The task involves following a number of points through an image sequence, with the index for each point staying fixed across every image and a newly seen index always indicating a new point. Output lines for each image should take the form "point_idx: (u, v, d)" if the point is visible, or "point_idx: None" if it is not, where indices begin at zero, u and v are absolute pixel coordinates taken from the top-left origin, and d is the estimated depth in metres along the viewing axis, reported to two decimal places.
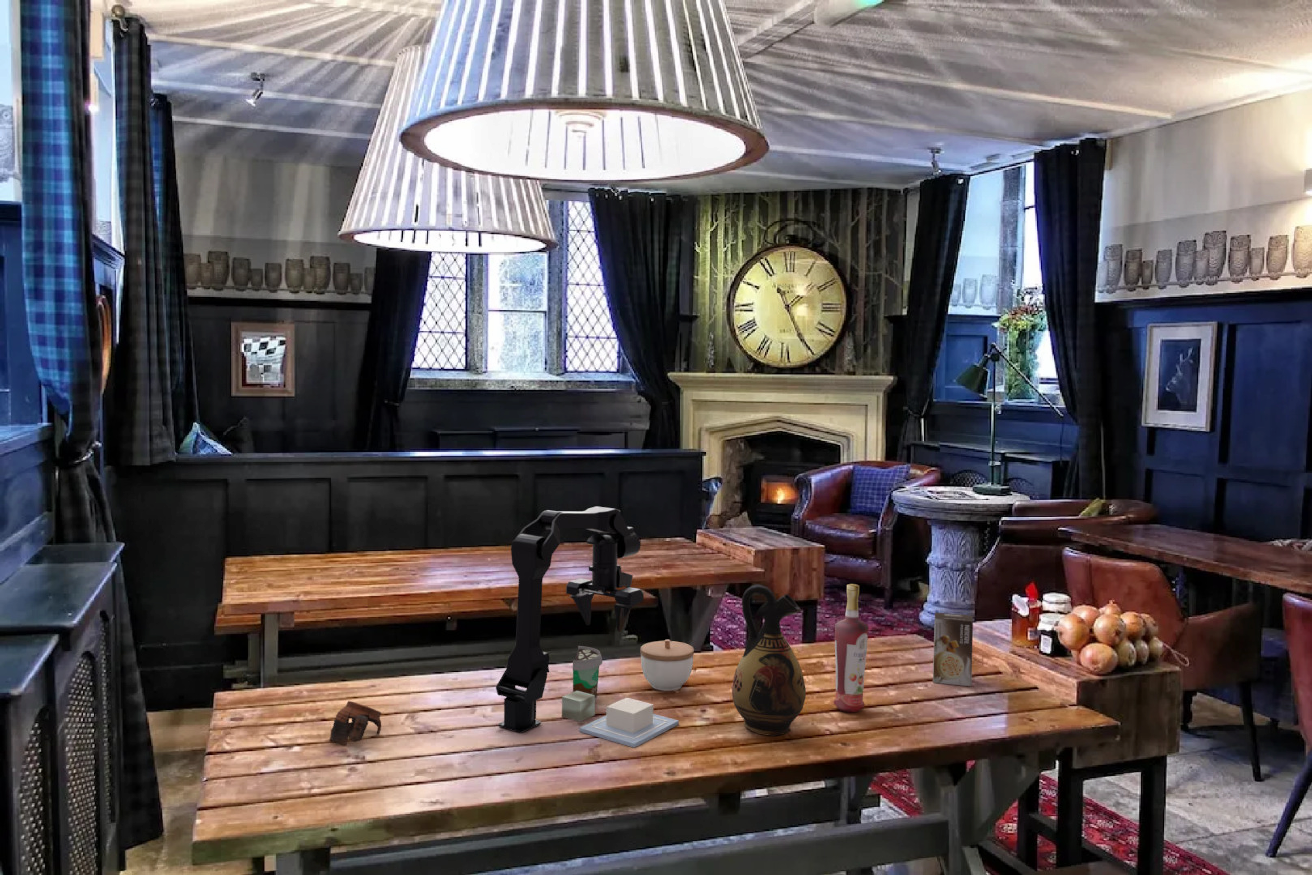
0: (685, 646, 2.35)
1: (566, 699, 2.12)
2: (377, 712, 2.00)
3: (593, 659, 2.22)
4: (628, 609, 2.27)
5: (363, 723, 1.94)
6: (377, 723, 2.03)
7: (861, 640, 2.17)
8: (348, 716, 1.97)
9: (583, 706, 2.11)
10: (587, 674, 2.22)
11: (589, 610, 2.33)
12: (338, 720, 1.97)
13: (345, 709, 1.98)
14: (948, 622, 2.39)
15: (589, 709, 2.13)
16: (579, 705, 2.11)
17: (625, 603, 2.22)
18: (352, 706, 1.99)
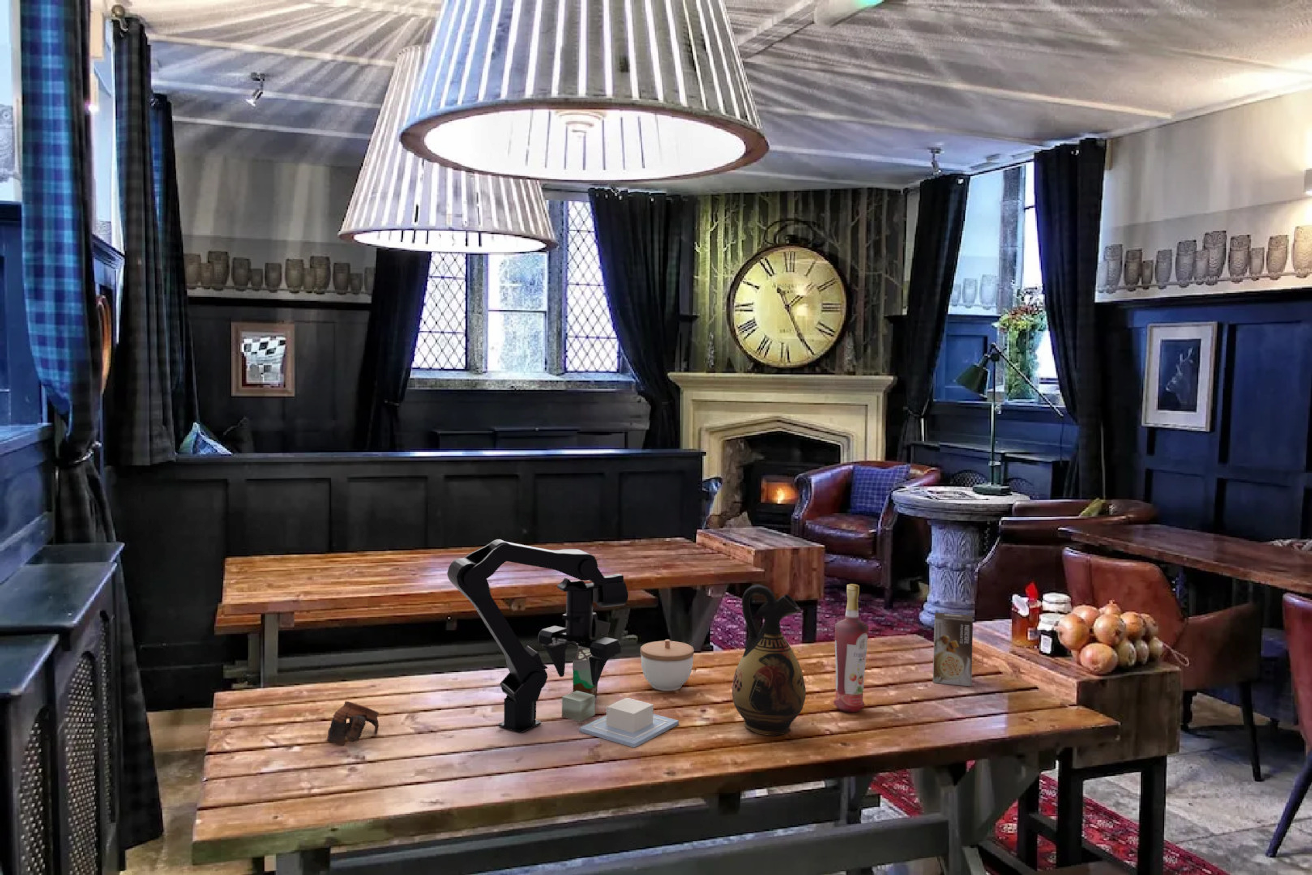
0: (685, 646, 2.35)
1: (566, 699, 2.12)
2: (374, 712, 2.00)
3: None
4: (604, 661, 2.10)
5: (361, 723, 1.94)
6: (374, 723, 2.03)
7: (861, 640, 2.17)
8: (345, 716, 1.97)
9: (583, 706, 2.11)
10: (587, 674, 2.22)
11: (563, 661, 2.16)
12: (335, 720, 1.97)
13: (342, 709, 1.98)
14: (948, 622, 2.39)
15: (589, 709, 2.13)
16: (579, 705, 2.11)
17: (600, 656, 2.06)
18: (349, 706, 1.99)
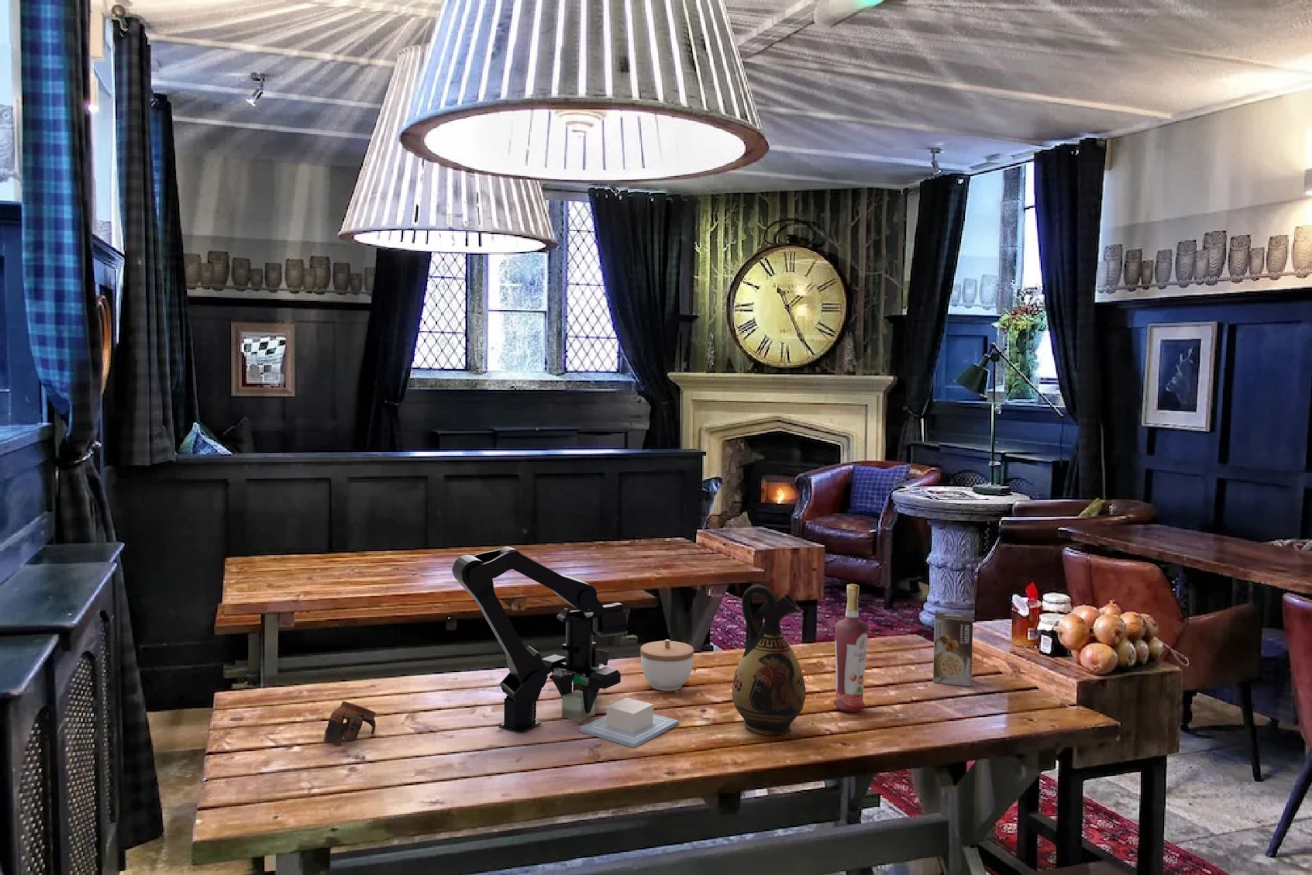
0: (685, 646, 2.35)
1: (566, 698, 2.12)
2: (372, 712, 2.00)
3: None
4: (597, 689, 2.12)
5: (358, 723, 1.94)
6: (371, 723, 2.03)
7: (861, 640, 2.17)
8: (342, 716, 1.97)
9: (583, 705, 2.11)
10: None
11: (570, 691, 2.16)
12: (333, 720, 1.97)
13: (340, 709, 1.98)
14: (948, 622, 2.39)
15: None
16: (579, 704, 2.11)
17: (600, 686, 2.06)
18: (346, 706, 1.99)
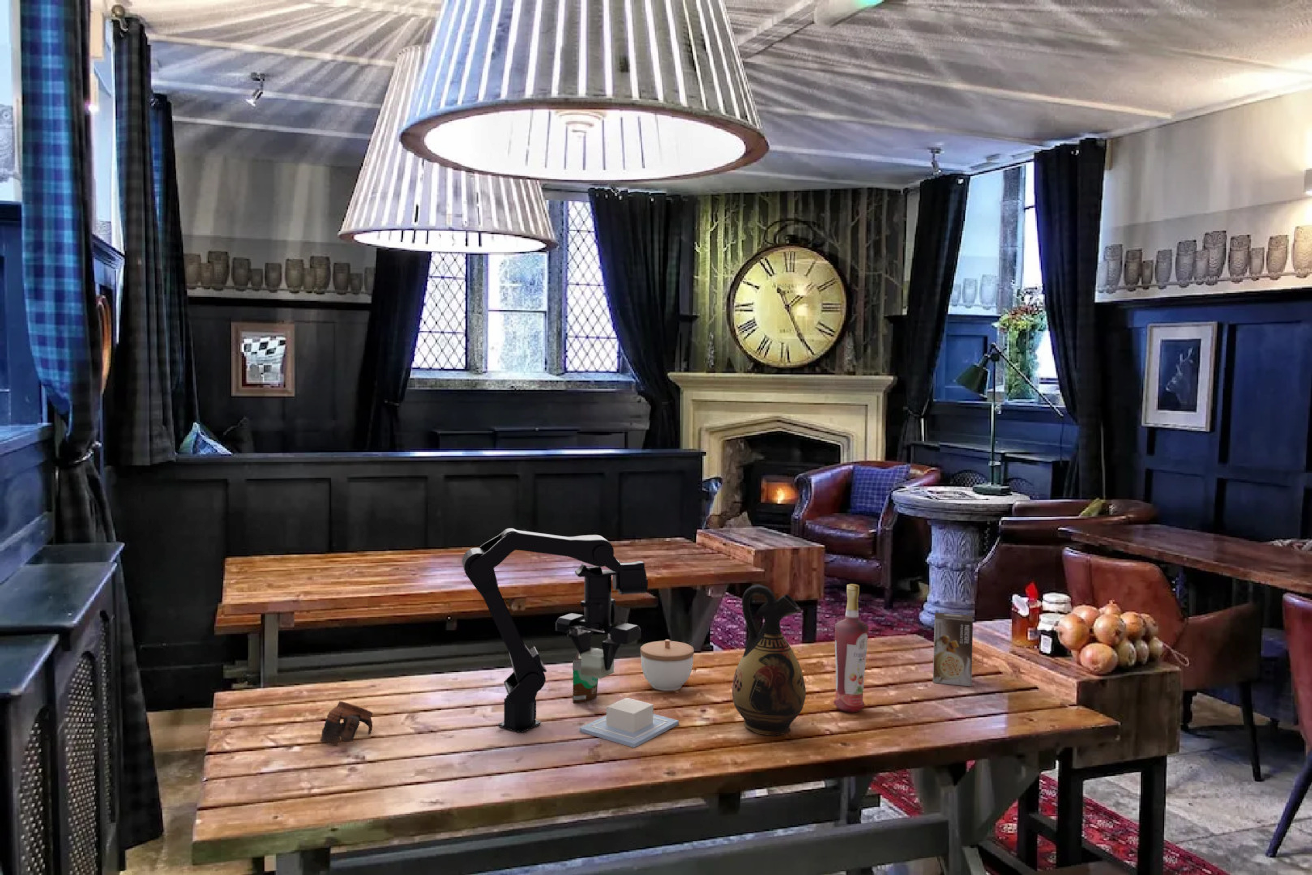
0: (685, 646, 2.35)
1: (586, 656, 2.10)
2: (368, 712, 2.00)
3: None
4: (617, 646, 2.09)
5: (355, 723, 1.94)
6: (368, 723, 2.03)
7: (861, 640, 2.17)
8: (339, 716, 1.96)
9: (603, 662, 2.09)
10: None
11: (588, 649, 2.13)
12: (329, 720, 1.97)
13: (336, 709, 1.98)
14: (948, 622, 2.39)
15: None
16: (599, 661, 2.08)
17: (621, 642, 2.04)
18: (343, 706, 1.98)
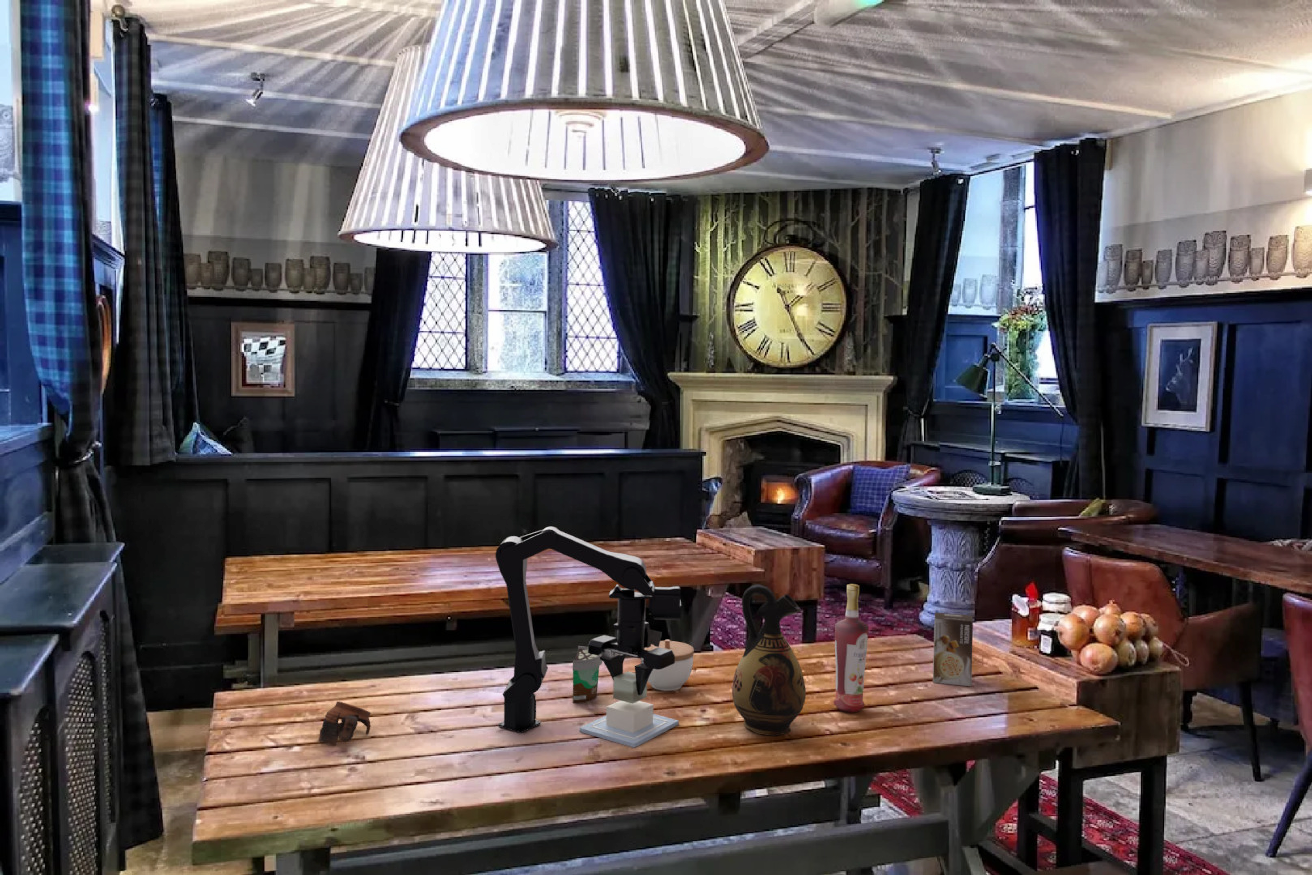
0: (685, 646, 2.35)
1: (618, 679, 2.06)
2: (366, 712, 2.00)
3: (593, 659, 2.22)
4: (650, 670, 2.05)
5: (353, 723, 1.94)
6: (366, 723, 2.03)
7: (861, 640, 2.17)
8: (337, 716, 1.96)
9: (635, 687, 2.04)
10: (587, 674, 2.22)
11: (621, 673, 2.09)
12: (327, 720, 1.97)
13: (334, 709, 1.98)
14: (948, 622, 2.39)
15: None
16: (632, 686, 2.04)
17: (655, 667, 1.99)
18: (341, 706, 1.98)
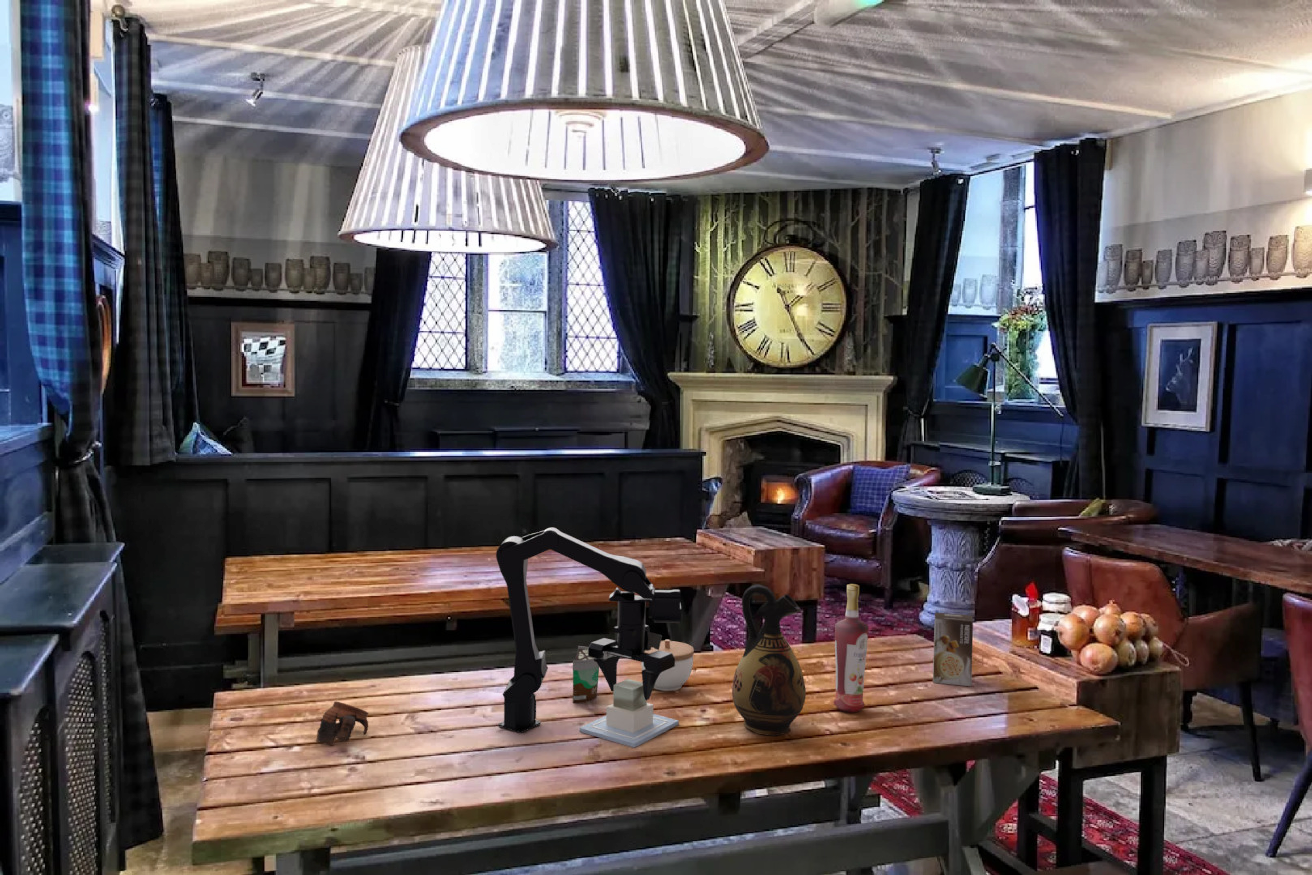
0: (685, 646, 2.35)
1: (618, 687, 2.06)
2: (364, 712, 2.00)
3: (593, 659, 2.22)
4: (657, 675, 2.04)
5: (351, 723, 1.94)
6: (364, 723, 2.03)
7: (861, 640, 2.17)
8: (335, 716, 1.96)
9: (635, 695, 2.04)
10: (587, 674, 2.22)
11: (614, 674, 2.10)
12: (325, 720, 1.97)
13: (332, 709, 1.98)
14: (948, 622, 2.39)
15: (641, 697, 2.06)
16: (632, 693, 2.04)
17: (655, 670, 1.99)
18: (339, 706, 1.98)
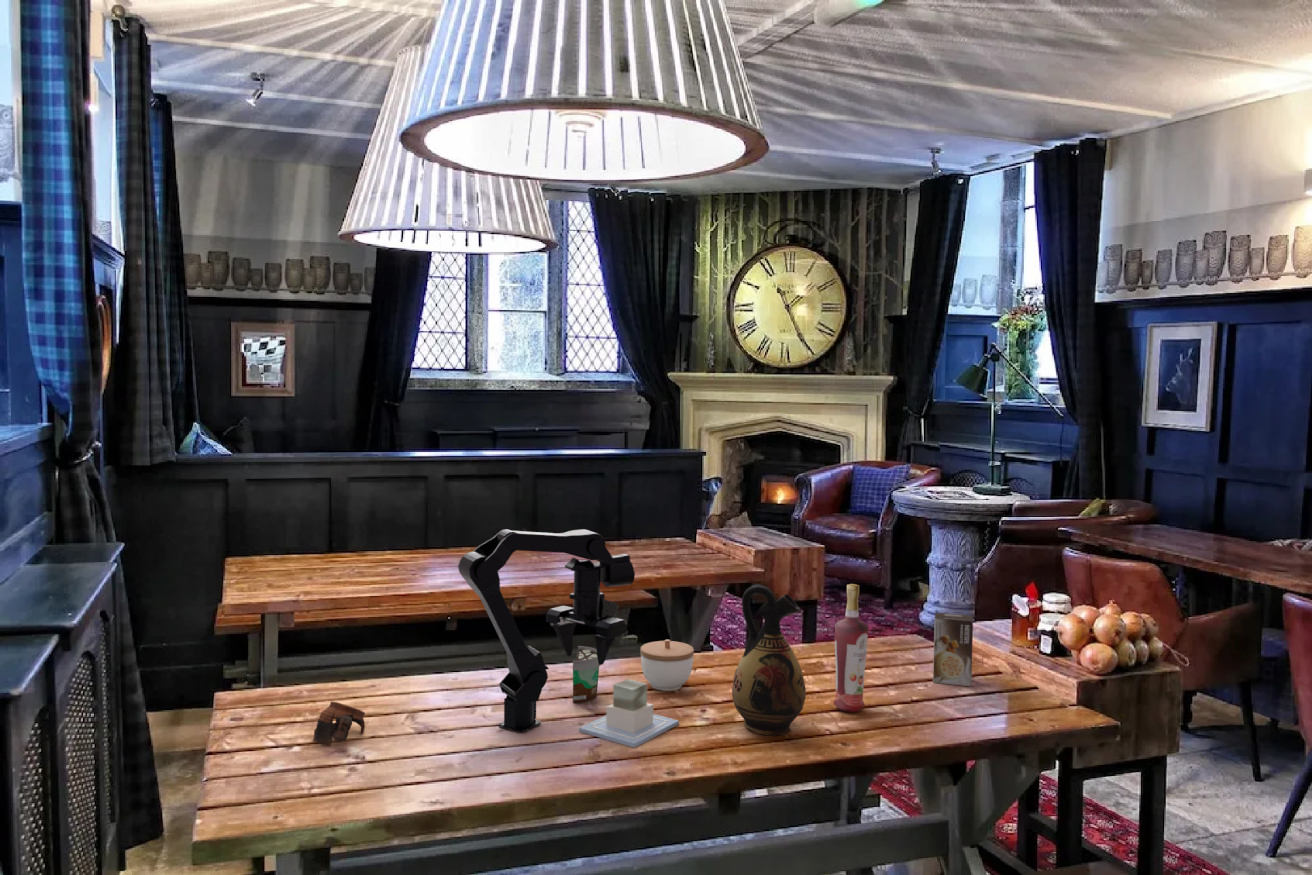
0: (685, 646, 2.35)
1: (618, 687, 2.06)
2: (361, 712, 2.00)
3: (593, 659, 2.22)
4: (610, 641, 2.11)
5: (348, 723, 1.94)
6: (360, 723, 2.02)
7: (861, 640, 2.17)
8: (332, 716, 1.96)
9: (635, 695, 2.04)
10: (587, 674, 2.22)
11: (571, 640, 2.18)
12: (322, 721, 1.97)
13: (329, 710, 1.98)
14: (948, 622, 2.39)
15: (641, 697, 2.06)
16: (632, 693, 2.04)
17: (606, 635, 2.07)
18: (336, 706, 1.98)
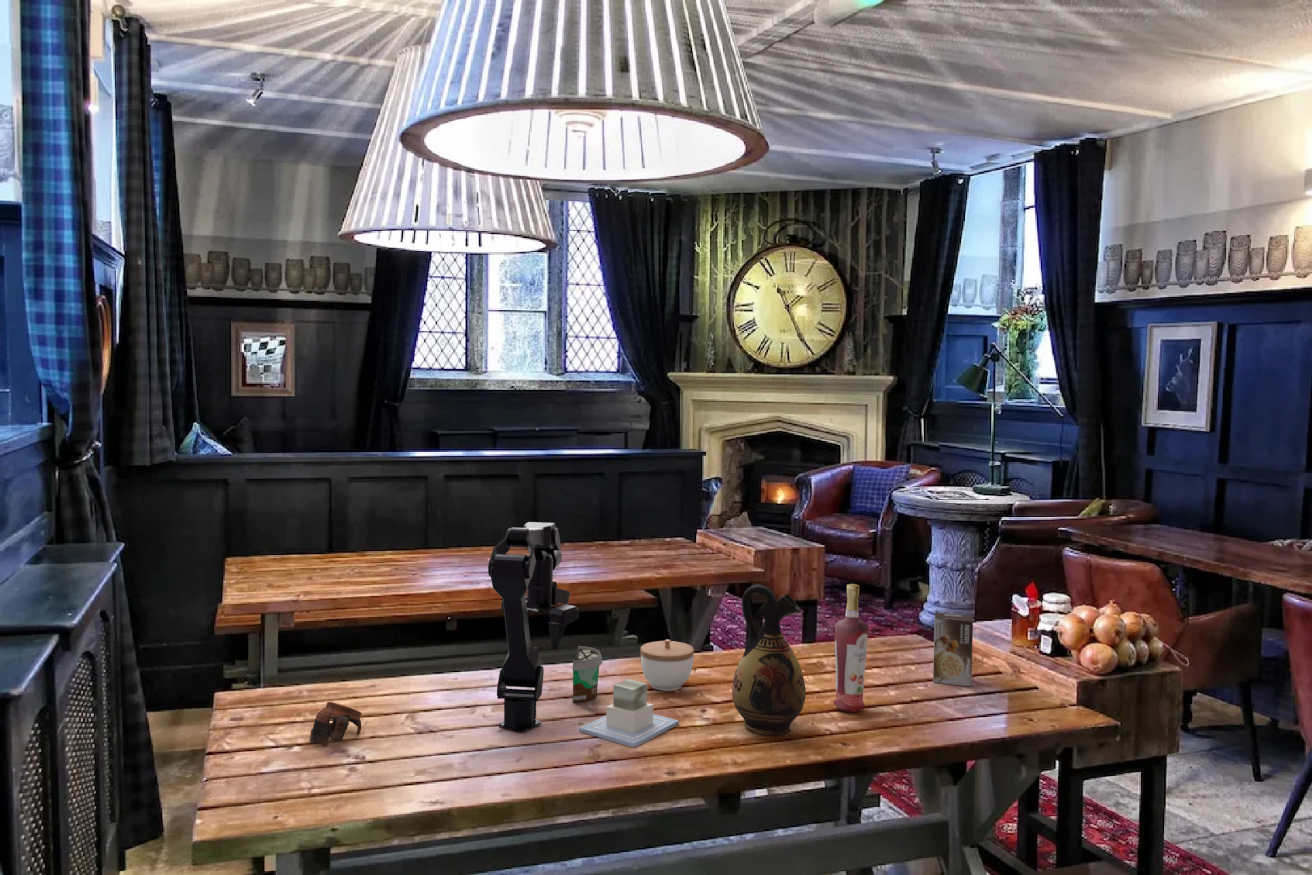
0: (685, 646, 2.35)
1: (618, 687, 2.06)
2: (357, 712, 2.00)
3: (593, 659, 2.22)
4: (563, 627, 2.20)
5: (344, 723, 1.94)
6: (357, 723, 2.02)
7: (861, 640, 2.17)
8: (328, 716, 1.96)
9: (635, 695, 2.04)
10: (587, 674, 2.22)
11: None
12: (318, 721, 1.96)
13: (325, 710, 1.98)
14: (948, 622, 2.39)
15: (641, 697, 2.06)
16: (632, 693, 2.04)
17: (559, 621, 2.16)
18: (332, 706, 1.98)
